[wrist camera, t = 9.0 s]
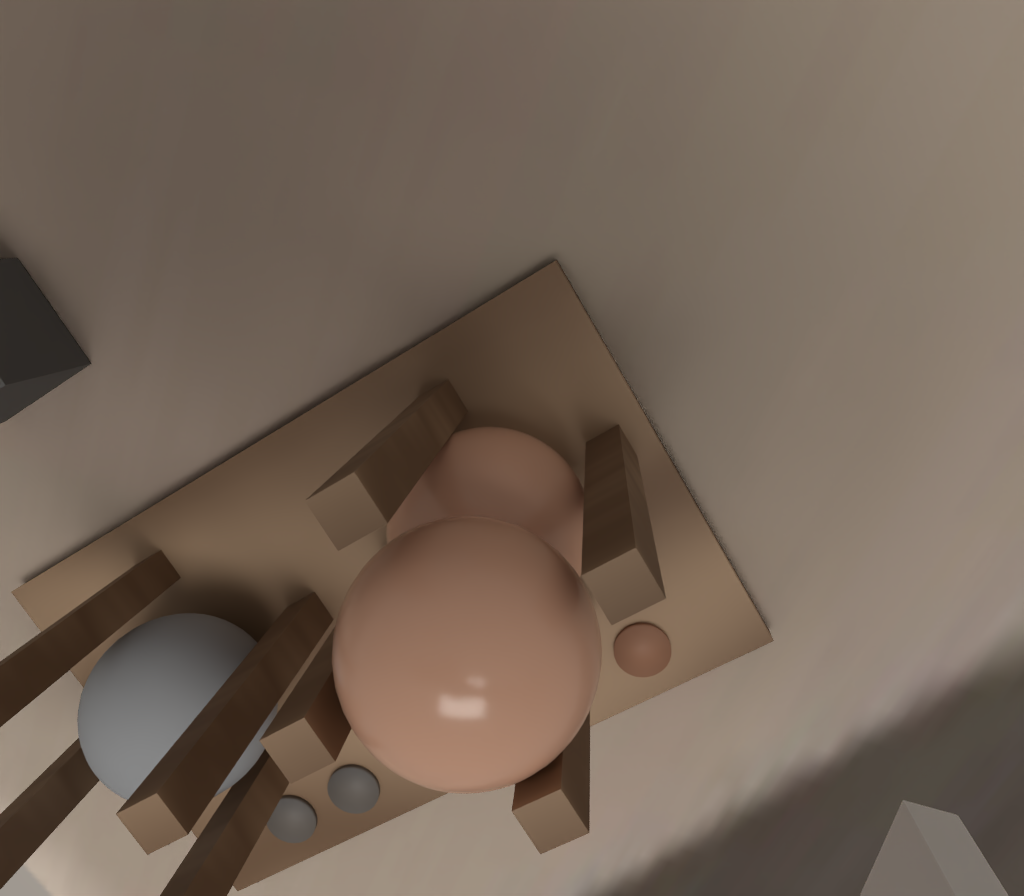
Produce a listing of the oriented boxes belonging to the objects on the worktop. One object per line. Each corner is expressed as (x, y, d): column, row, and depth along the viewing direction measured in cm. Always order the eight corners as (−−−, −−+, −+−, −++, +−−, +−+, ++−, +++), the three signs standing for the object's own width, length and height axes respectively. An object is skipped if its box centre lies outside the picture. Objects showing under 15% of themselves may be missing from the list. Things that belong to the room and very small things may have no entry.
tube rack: (24, 584, 25) (-300, 781, 16) (556, 259, 21) (529, 276, 12) (245, 877, 27) (68, 1201, 18) (769, 630, 23) (883, 886, 14)
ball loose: (360, 446, 16) (336, 639, 11) (608, 483, 17) (668, 672, 12) (330, 633, 18) (302, 845, 14) (546, 654, 19) (579, 859, 15)
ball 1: (110, 630, 25) (-7, 725, 20) (240, 555, 24) (149, 636, 19) (205, 759, 25) (115, 880, 21) (335, 692, 24) (272, 804, 20)
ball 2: (385, 471, 23) (315, 510, 18) (538, 382, 22) (509, 398, 17) (474, 624, 23) (430, 704, 18) (630, 543, 22) (628, 605, 17)
